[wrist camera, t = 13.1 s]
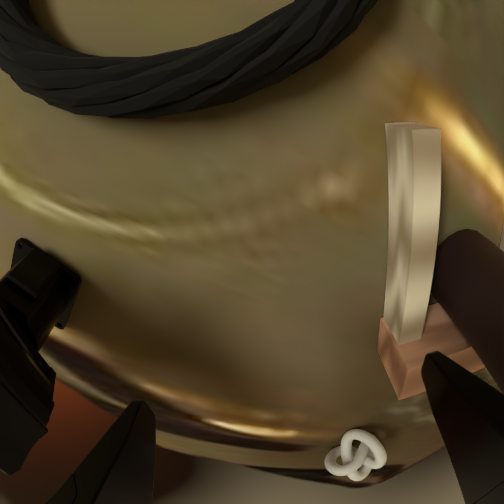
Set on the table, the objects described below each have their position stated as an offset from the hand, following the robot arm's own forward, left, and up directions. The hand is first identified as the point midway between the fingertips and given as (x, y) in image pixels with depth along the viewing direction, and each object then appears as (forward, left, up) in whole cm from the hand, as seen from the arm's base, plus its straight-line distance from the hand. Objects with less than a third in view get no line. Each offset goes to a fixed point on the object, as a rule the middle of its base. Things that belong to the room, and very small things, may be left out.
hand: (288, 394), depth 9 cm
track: (+8, -14, -13) cm, 21 cm away
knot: (-17, -28, -13) cm, 35 cm away
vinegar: (+7, -16, -13) cm, 22 cm away
